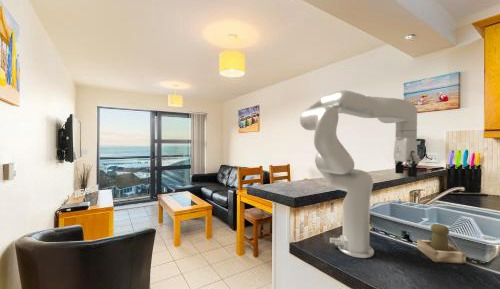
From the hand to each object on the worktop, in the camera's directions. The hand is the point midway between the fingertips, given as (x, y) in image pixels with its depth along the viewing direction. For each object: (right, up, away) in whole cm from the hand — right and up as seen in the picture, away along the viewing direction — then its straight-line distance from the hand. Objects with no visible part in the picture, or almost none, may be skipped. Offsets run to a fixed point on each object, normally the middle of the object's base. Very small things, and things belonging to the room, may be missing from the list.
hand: (405, 175), depth 96 cm
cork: (+4, -28, -12) cm, 31 cm away
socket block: (+4, -29, -12) cm, 31 cm away
